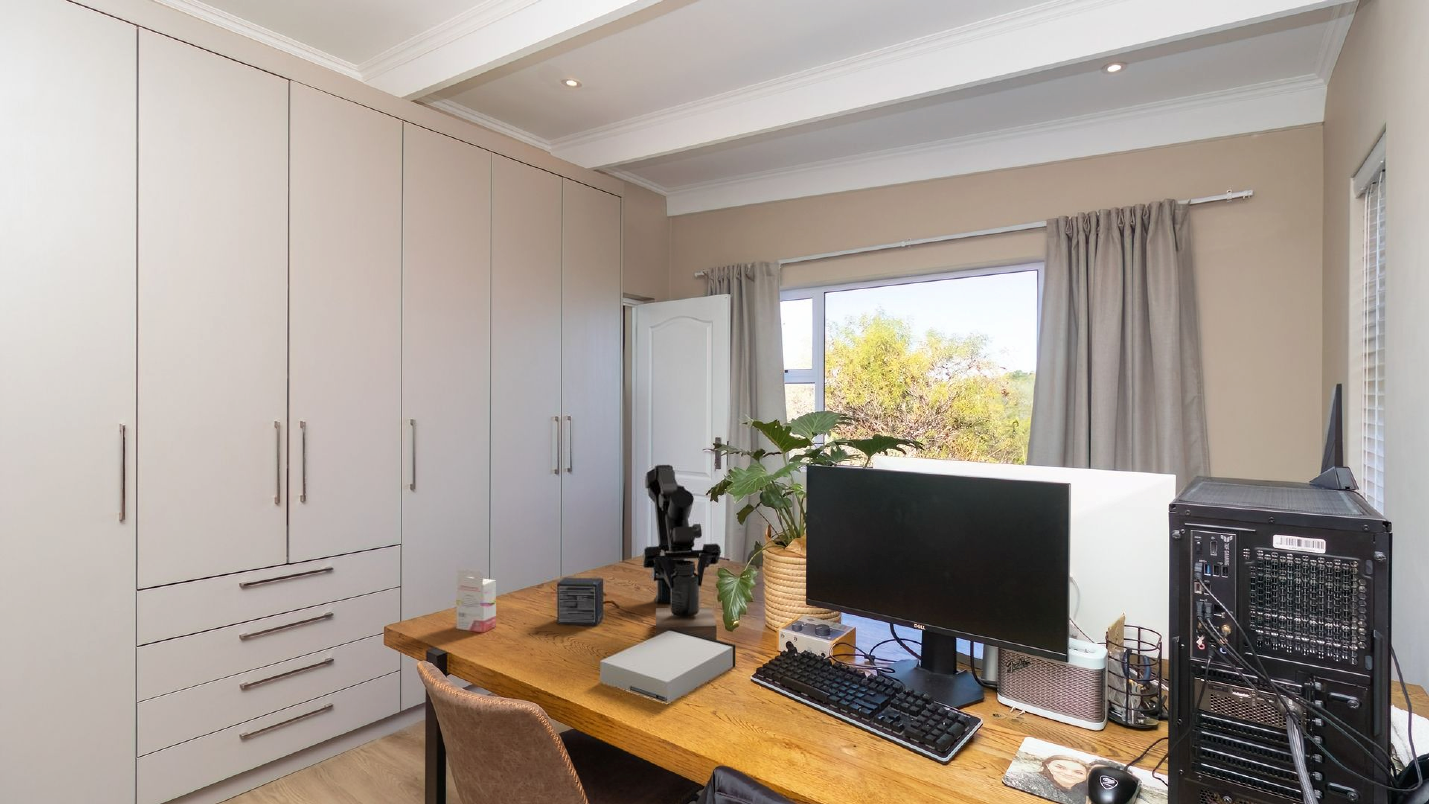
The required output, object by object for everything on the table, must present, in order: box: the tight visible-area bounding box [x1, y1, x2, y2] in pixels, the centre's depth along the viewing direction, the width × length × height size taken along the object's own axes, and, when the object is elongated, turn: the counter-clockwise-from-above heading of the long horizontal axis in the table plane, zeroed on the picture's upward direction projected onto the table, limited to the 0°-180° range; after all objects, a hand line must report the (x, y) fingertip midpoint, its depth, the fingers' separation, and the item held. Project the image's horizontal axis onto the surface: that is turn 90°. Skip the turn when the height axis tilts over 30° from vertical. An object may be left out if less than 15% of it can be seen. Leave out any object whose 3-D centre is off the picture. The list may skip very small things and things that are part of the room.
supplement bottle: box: [670, 559, 700, 617], centre depth 162 cm, size 7×7×12 cm
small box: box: [556, 577, 605, 627], centre depth 171 cm, size 11×6×10 cm, turn 84°
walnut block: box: [655, 606, 718, 640], centre depth 162 cm, size 14×14×4 cm
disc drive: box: [599, 628, 736, 703], centre depth 138 cm, size 18×22×5 cm
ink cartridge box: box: [455, 568, 497, 633], centre depth 166 cm, size 9×5×15 cm, turn 68°
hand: (685, 586), depth 161 cm, fingers closed on supplement bottle, 7 cm apart
